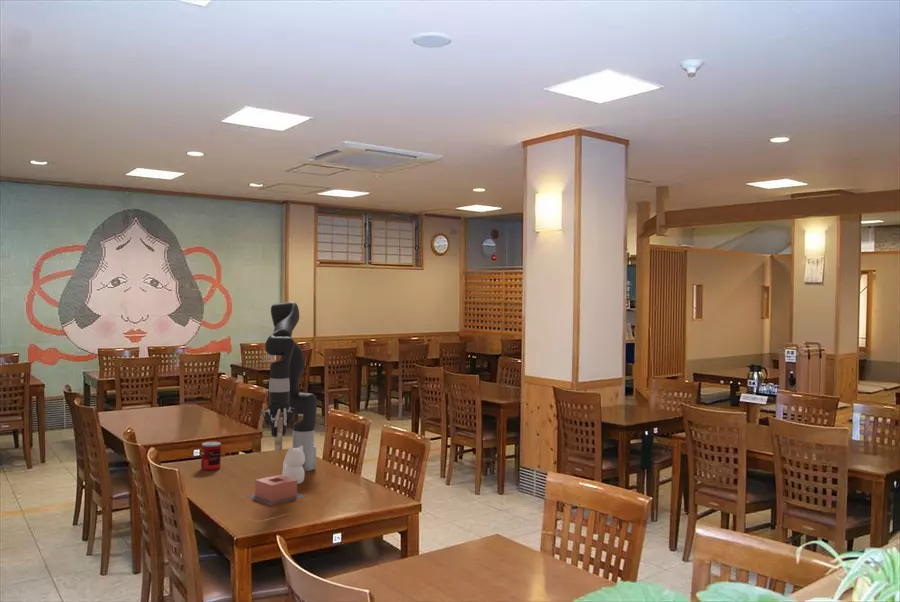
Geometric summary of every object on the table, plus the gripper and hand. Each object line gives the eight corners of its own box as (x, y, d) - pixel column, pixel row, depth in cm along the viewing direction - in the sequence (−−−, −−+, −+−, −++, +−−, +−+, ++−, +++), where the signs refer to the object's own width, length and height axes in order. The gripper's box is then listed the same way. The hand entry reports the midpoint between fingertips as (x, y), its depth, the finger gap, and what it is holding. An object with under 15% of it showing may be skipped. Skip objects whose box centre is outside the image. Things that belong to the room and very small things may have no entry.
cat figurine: (291, 488, 274) (292, 450, 274) (273, 481, 282) (274, 444, 282) (310, 483, 281) (311, 446, 281) (291, 477, 289) (292, 441, 289)
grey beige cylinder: (279, 448, 263) (280, 411, 263) (283, 449, 261) (284, 412, 261) (272, 449, 261) (273, 412, 261) (277, 450, 259) (277, 413, 259)
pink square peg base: (280, 490, 269) (280, 474, 269) (296, 496, 261) (297, 480, 261) (255, 495, 260) (255, 479, 260) (271, 502, 253) (271, 485, 253)
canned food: (206, 466, 306) (206, 441, 306) (223, 467, 305) (224, 442, 305) (197, 470, 298) (198, 444, 298) (215, 471, 297) (215, 445, 297)
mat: (282, 488, 272) (282, 487, 272) (306, 497, 261) (306, 496, 261) (245, 496, 260) (245, 495, 260) (269, 505, 249) (269, 504, 249)
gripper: (289, 387, 268) (288, 432, 268) (257, 390, 258) (256, 437, 258) (300, 389, 263) (299, 435, 263) (268, 392, 253) (267, 440, 253)
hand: (278, 435), depth 261 cm, fingers closed on grey beige cylinder, 2 cm apart
